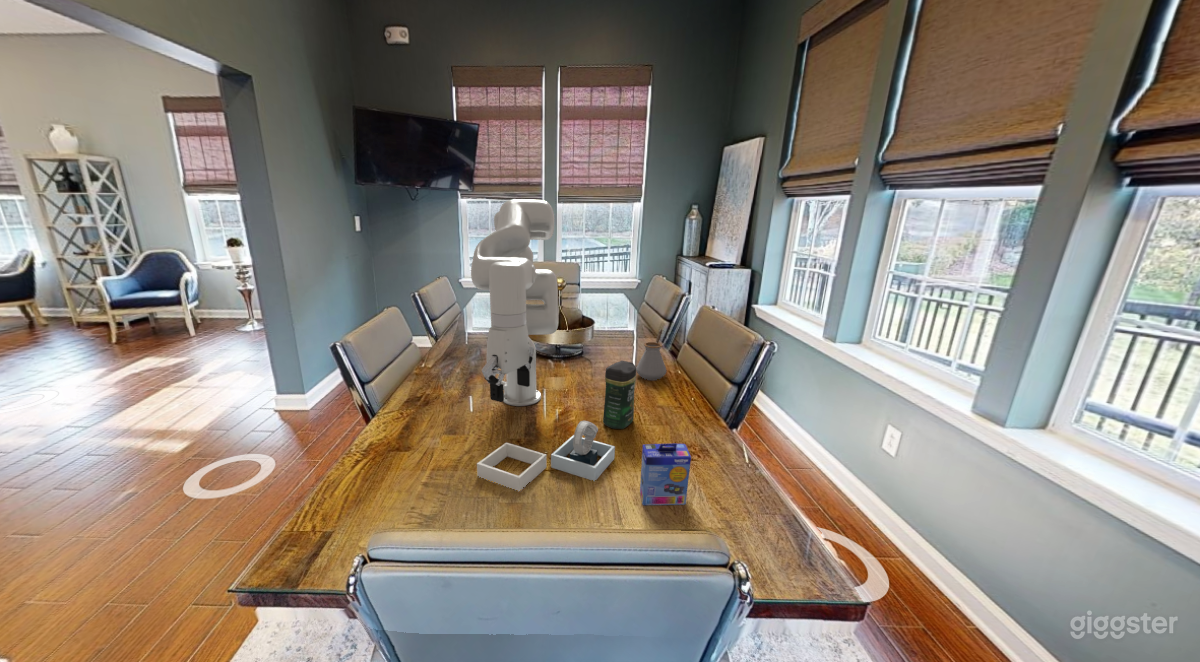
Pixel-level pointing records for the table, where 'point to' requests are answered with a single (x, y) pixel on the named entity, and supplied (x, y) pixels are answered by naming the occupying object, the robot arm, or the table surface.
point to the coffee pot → (652, 361)
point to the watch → (584, 451)
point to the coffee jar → (619, 395)
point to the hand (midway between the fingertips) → (510, 392)
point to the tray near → (506, 478)
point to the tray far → (578, 467)
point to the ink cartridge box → (664, 474)
